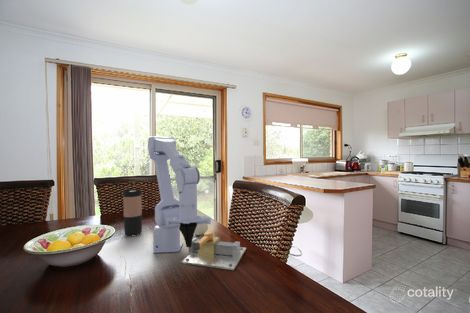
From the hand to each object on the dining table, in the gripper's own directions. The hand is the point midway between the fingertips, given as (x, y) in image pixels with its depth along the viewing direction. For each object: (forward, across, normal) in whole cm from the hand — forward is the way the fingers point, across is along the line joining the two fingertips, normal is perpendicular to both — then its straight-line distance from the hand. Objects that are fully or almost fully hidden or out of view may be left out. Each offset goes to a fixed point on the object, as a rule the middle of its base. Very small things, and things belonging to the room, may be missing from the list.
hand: (189, 245), depth 75 cm
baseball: (+6, -1, +27) cm, 28 cm away
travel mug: (+6, -32, +30) cm, 44 cm away
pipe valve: (+5, +7, +7) cm, 11 cm away
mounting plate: (+6, +8, +5) cm, 11 cm away
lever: (0, +4, +3) cm, 5 cm away
